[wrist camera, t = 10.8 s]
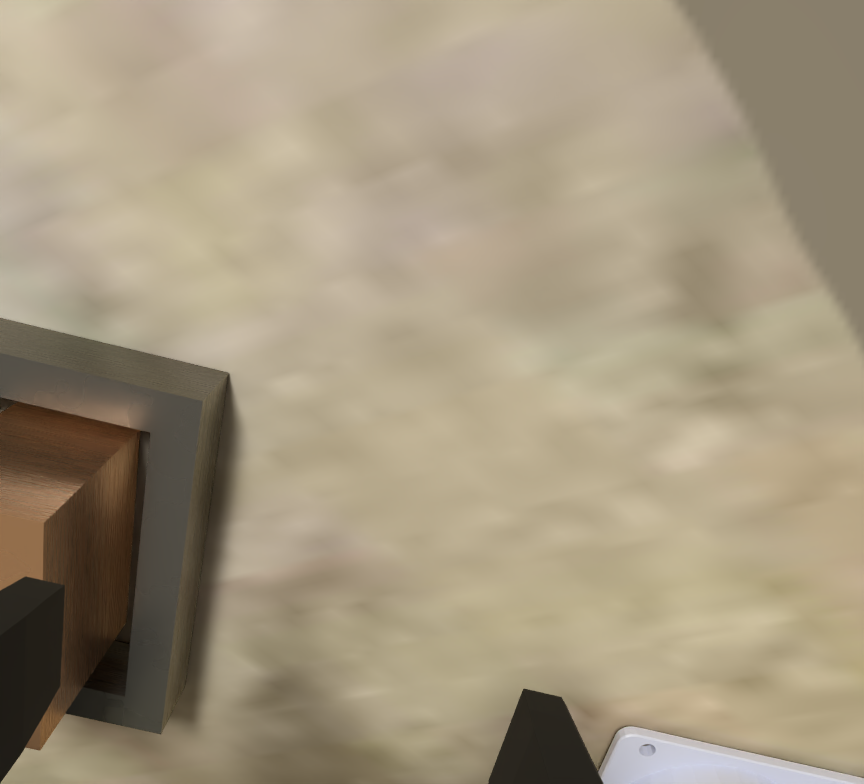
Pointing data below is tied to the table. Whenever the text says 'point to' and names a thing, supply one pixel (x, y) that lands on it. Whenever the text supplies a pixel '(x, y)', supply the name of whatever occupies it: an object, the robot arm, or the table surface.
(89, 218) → the table surface
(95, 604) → the brown rectangular block
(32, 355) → the duct collar
